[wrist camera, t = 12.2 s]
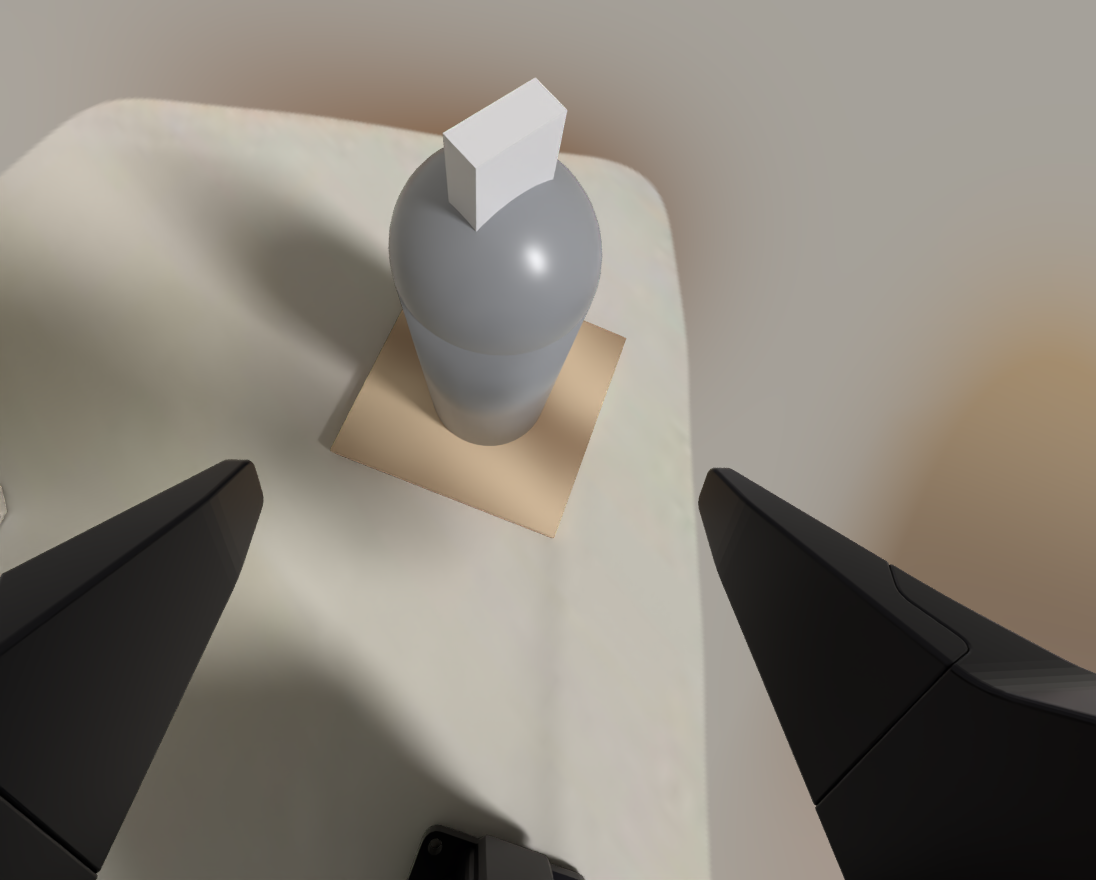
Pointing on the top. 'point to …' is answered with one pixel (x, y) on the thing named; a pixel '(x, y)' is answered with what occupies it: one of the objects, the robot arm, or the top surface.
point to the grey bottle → (495, 265)
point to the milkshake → (2, 505)
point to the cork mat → (474, 470)
